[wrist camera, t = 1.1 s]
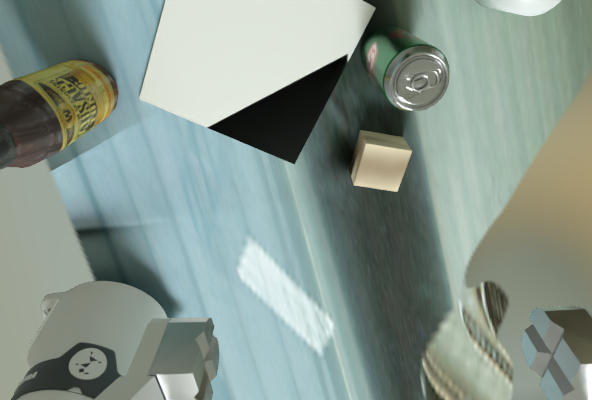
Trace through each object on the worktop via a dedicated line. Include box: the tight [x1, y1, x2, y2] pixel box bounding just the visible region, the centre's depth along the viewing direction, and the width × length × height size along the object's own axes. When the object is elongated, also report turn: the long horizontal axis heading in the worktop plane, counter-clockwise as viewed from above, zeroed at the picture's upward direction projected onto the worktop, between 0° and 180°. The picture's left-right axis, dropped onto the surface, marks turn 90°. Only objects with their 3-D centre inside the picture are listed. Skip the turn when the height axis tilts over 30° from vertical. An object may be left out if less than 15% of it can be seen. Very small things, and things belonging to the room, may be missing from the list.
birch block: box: [349, 130, 412, 192], centre depth 43 cm, size 5×5×4 cm
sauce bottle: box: [0, 60, 118, 169], centre depth 31 cm, size 6×6×20 cm
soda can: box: [361, 25, 449, 111], centre depth 34 cm, size 5×5×12 cm
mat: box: [139, 0, 376, 164], centre depth 38 cm, size 18×18×1 cm
